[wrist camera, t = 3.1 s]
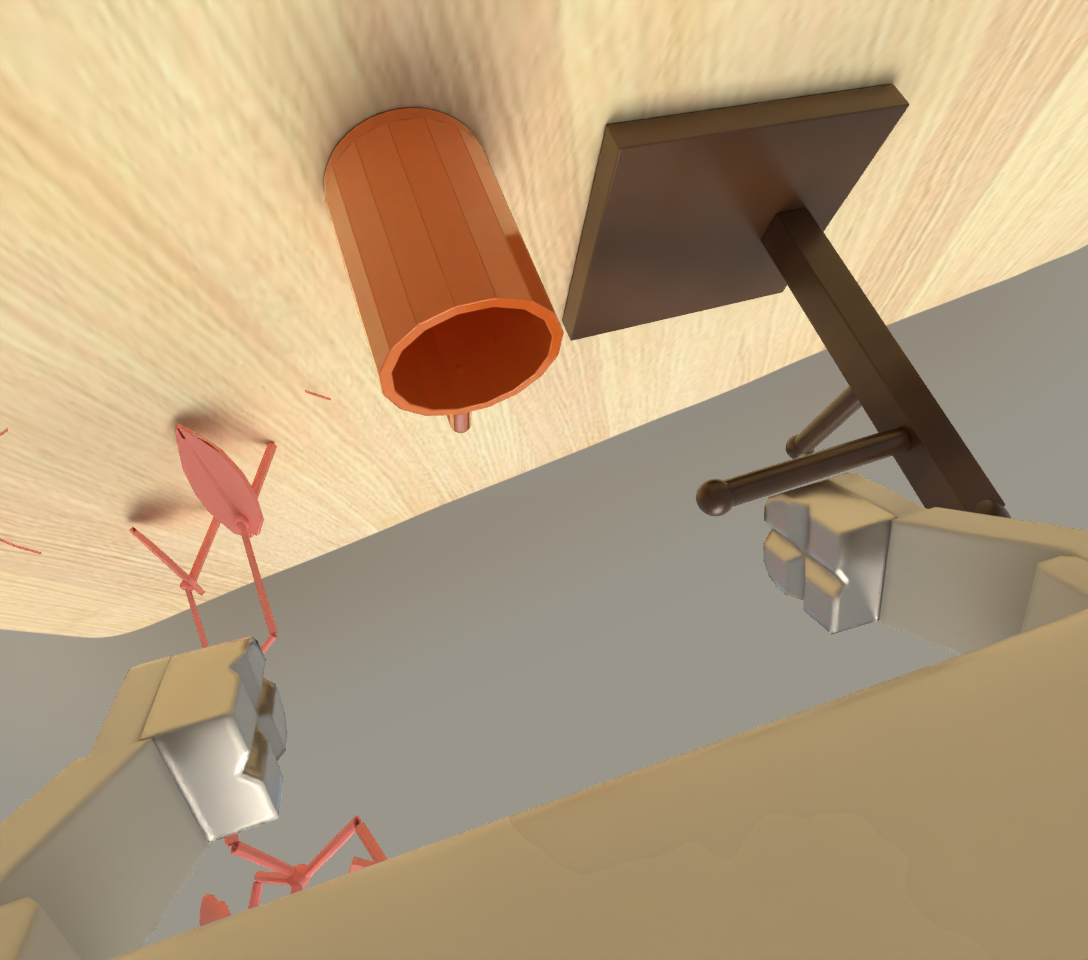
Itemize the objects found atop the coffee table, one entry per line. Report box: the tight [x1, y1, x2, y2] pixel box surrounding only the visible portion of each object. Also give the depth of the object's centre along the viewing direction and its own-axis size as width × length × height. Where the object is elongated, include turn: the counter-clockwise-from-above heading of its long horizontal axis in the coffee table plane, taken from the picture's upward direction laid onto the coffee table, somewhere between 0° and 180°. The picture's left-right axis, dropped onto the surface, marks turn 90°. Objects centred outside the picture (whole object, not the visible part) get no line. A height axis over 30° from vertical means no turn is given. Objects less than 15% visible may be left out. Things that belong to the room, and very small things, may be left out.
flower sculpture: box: [0, 390, 388, 926], centre depth 31 cm, size 15×26×35 cm, turn 136°
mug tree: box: [563, 84, 1011, 518], centre depth 31 cm, size 15×15×21 cm
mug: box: [324, 108, 563, 433], centre depth 26 cm, size 11×7×9 cm, turn 173°
